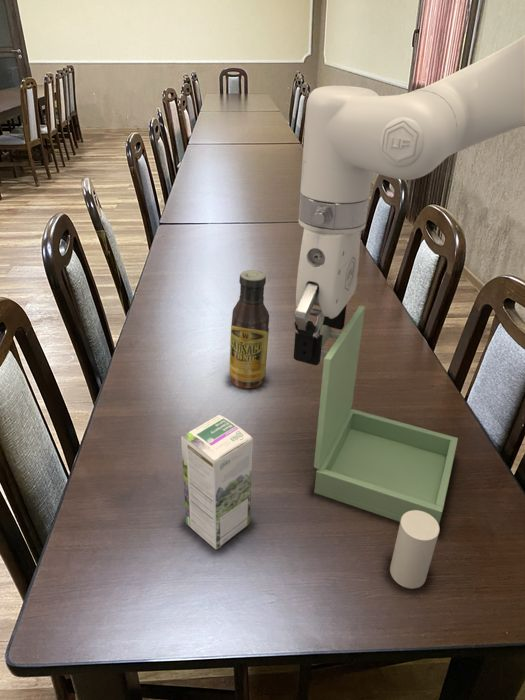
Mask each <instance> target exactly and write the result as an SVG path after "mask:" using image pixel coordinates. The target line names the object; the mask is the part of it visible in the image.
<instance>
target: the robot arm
mask: <svg viewBox="0 0 525 700" xmlns="http://www.w3.org/2000/svg"><path fill="white" fill-rule="evenodd" d="M304 117H305V119H304V133H303V147H302V161H301V162H302V163H301V176H300V193H299V195H300V196H299V205H298V206H299V208H298V220H297V221H298V225H299V226H301V227H302V228H303V231H302V232H303V233H302V239H301V243H300V244H301V245H300V252H299V259H298V268H297V276H296V287H295V289H296V290H295V306H296V309H295V311H294V346H293V359H294V360H295V361H297V362H301V363H305V364H308V365H312V366H319V364H320V363H321V358H322V357H321V349H322V348H323V347H322V338H323V335H320V332H321V328H322V325H327V326H329V327H330V328H331V329H334V330H335V329H336V330H339V331H340V330H343V329H344V328H345V321H346V315H347V306H348V303H349V301H350V300H351V299H352V297H353V295H354V294H355V292H356V289H357V284H358V274H359V273H358V272H359V263H360V262H359V261H360V250H361V236H362V235H361V232H362V231H363V230H365V228H366V226H367V219H368V212H369V211H368V210H369V204H370V203H369V202H370V196H371V188H372V182H373V181H372V180H373V175H374V174H378V175H381V176H384V177H387V178H392V179H395V180H402V181H412V180H416V179H420V178H422V177H424V176H426V175H428V174H430V173H431V172H433V171H434V170H435V169H436V168H437V167H438V166H440V165H441V164H442V163H443V162H444V161H445V160H446V159H448V157H450V156H452V155H453V154H457V153H459V152H461V151H463V150H466V149H467V148H470V147H473V146H475V145H478V144H480V143H482V142H485V141H487V140H490V139H492V138H495V137H497V136H499V135H502V134H505V133H507V132H510V131H512V130H516V129H518V128H522V127H523V126H524V127H525V34H524V35H523V36H521V37H519V38H518V39H516V40H515V41H513V42H512V43H511V42H510V43H509V44H507V45H506V46H504V47H502V48H500V49H499V50H497V51H495V52H493V53H491V54H489V55H487V56H485V57H483V58H482V59H480V60H478V61H477V60H476V61H475V62H474V63H471V64H469V65H467V66H465V67H463V68H462V69H459V70H457V71H455V72H453V73H451V74H449V75H447V76H445V77H443V78H440V79H439V80H437V81H435V82H433V83H431V84H428V85H426V86H424V87H421V88H418V89H415V90H412V91H409V92H405V93H401V94H393V95H379V94H378V93H377V91H375V90H372V89H370V88H366V87H360V86H353V85H352V86H351V85H326V86H319V87H317V88H314V89H313V90H312V91H311V92H310V94H308V98H307V100H306V106H305V115H304ZM314 306H316V307H320V309H318V308H313V307H314ZM311 316H314V317H316V322H315V324H314V323H313V321H312V320H310V319H311ZM321 347H322V348H321Z"/></svg>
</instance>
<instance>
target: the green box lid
mask: <svg viewBox="0 0 525 700" xmlns="http://www.w3.org/2000/svg"><path fill="white" fill-rule="evenodd" d="M365 311H366V306H365V305H358V307H357V309H356V310H355V311H354V313H353V315H352V316H351V317H350V319H349V320H348V322H347V324H345V325H344V327H343V329H342V331H341V332H339V331H335V330H332V328H331V327H329V326H327V325H322V328H321V332H320V335H323V338H322V347H321V357H320V358H323V366H322V377H321V387H320V389H321V390H320V398H319V407H318V409H319V410H318V417H317V418H318V419H317V428H316V439H315V440H316V441H315V451H314V461H313V468H314V469H316V470H317V469H320V467H321V465H322V463H323V461H324V459H325V457H326V456H327V454H328V452H329V450H330V448H331V446H332V444H333V442H334V440H335V438H336V436H337V434H338V432H339V430H340V428H341V426H342V424H343V422H344V420H345V418H346V417H347V415H348V413H349V411H350V409H352V407H353V401H354V393H355V386H356V380H357V379H356V378H357V372H358V371H357V370H358V363H359V357H360V356H359V355H360V349H361V340H362V334H363V333H362V332H363V327H364V320H365ZM329 338H331V339H334V340H335V341H334V342H333V344H332V345H331V347H330V349H329V350H327V349H323V347H324V346H325V344H326V343H327V342H328V340H329Z"/></svg>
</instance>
